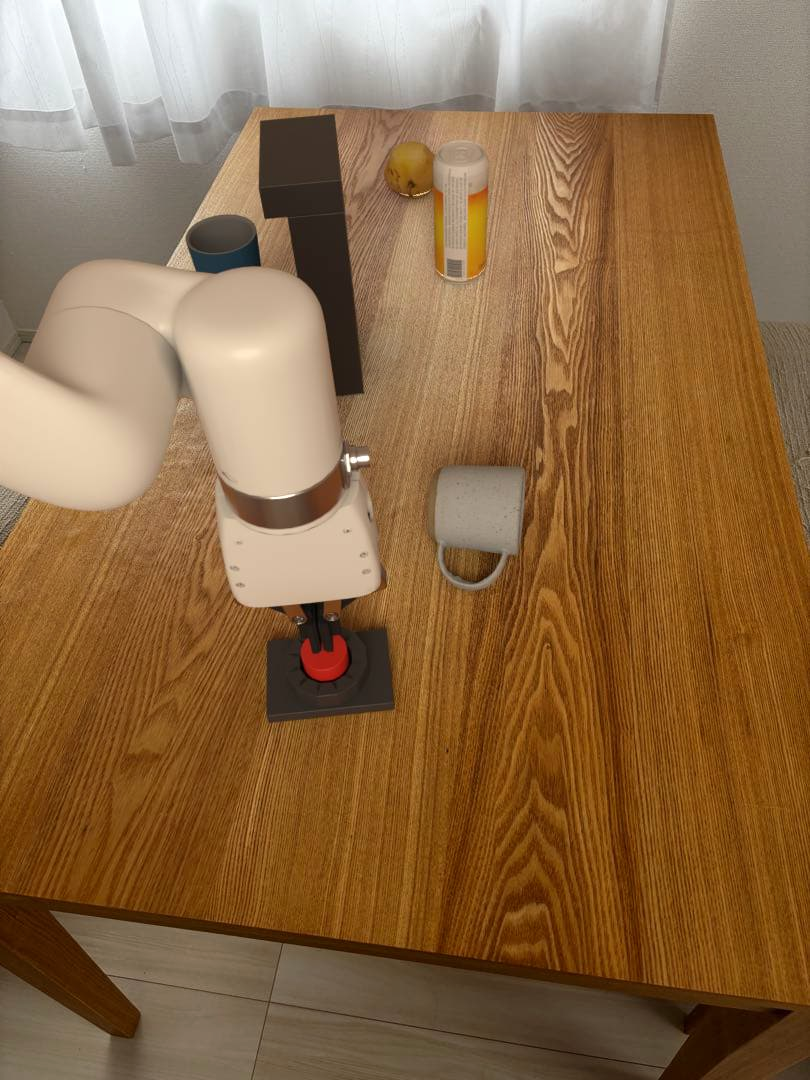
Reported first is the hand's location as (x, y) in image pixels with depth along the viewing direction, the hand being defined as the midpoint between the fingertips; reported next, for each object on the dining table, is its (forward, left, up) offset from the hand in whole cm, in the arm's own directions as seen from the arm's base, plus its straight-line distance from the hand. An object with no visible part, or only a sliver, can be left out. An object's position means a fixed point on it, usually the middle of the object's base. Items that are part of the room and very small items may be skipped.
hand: (322, 636), depth 66 cm
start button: (0, 0, -4) cm, 4 cm away
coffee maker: (-4, +40, -6) cm, 41 cm away
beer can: (+18, +54, -7) cm, 57 cm away
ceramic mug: (+14, +12, -7) cm, 19 cm away
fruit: (+14, +73, -7) cm, 75 cm away
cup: (-7, +40, -5) cm, 41 cm away
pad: (0, 0, -6) cm, 6 cm away
